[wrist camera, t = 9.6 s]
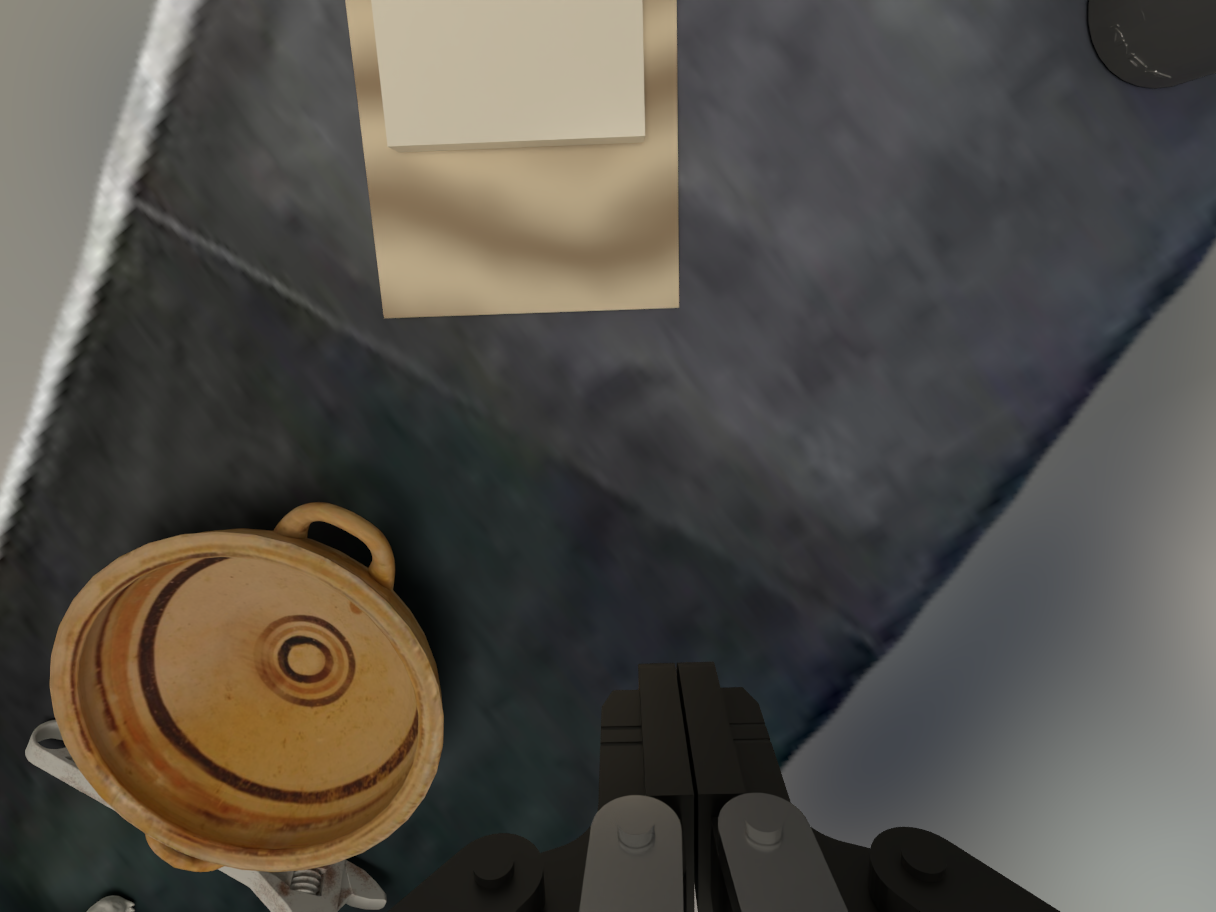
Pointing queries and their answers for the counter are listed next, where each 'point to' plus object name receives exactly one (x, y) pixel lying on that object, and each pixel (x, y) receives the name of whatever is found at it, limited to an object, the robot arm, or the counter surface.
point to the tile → (510, 73)
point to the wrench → (291, 896)
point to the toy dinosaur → (112, 905)
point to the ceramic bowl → (251, 695)
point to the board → (526, 206)
